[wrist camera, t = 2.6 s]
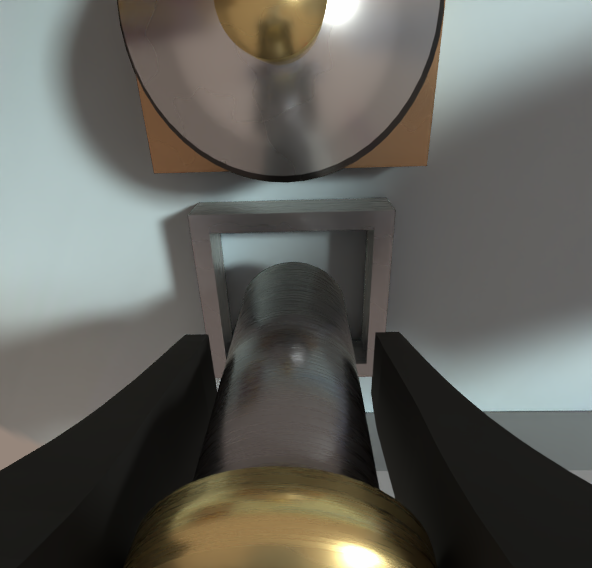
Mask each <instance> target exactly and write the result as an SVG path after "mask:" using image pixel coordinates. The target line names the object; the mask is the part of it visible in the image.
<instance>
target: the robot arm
mask: <svg viewBox="0 0 592 568" xmlns="http://www.w3.org/2000/svg"><path fill="white" fill-rule="evenodd" d="M371 395H372V402H373V409H374V416H375V423H376V429H377V433H378V437H379V440H380V444H381V448H382V452H383V455H384V459H385V463H386V466H387V470H388V474H389V478H390V481H391V485H392V489H393V492H394V496H395V499H396V500H398V501H399V502H400V503H401V504H403V505H404V506H405V507H406V508H407V509H409V510H410V511H411V512H412V513H413V514H414V516H415V517H416V518H417V519H418V520H419V521H420V523H421V524H422V526H423V527H424V529H425V531H426V532H427V534H428V537H429V539H430V542H431V545H432V548H433V552H434V556H435V559H436V563H437V566H438V568H592V484H590V483H589V482H587V481H585V480H584V479H582V478H580V477H578V476H577V475H575V474H573V473H572V472H570V471H568V470H567V469H565V468H563V467H562V466H560V465H559V464H557V463H555V462H554V461H552V460H551V459H549V458H548V457H546V456H544V455H543V454H541V453H540V452H538V451H536V450H535V449H533V448H532V447H530V446H529V445H527V444H526V443H525V442H523V441H522V440H520V439H519V438H517V437H516V436H514V435H513V434H512V433H510V432H509V431H508V430H506V429H505V428H504V427H502V426H501V425H499V424H498V423H497V422H495V421H494V420H493V419H491V418H490V417H489V416H487V415H486V414H485V413H484V412H482V411H481V410H480V409H479V408H477V407H476V406H475V405H474V404H473V403H472V402H470V401H469V400H468V399H467V398H466V397H464V396H463V395H462V394H461V393H460V392H459V391H457V390H456V389H455V388H454V387H453V386H452V385H451V384H450V383H449V382H448V381H447V380H446V379H445V378H444V377H442V376H441V375H440V374H439V373H438V372H437V371H436V370H435V369H434V368H433V367H432V366H431V365H430V364H429V363H428V362H427V361H426V360H425V359H424V358H423V357H422V356H421V355H420V353H419V352H418V351H417V350H416V349H415V348H414V347H413V346H412V345H411V344H410V343H409V342H408V341H407V340H406V339H405V338H404V337H403V336H402V335H401V334H400V333H399V332H375V345H374V360H373V374H372V389H371ZM216 396H217V387H216V381H215V374H214V368H213V361H212V355H211V348H210V342H209V335H208V334H204V335H185V336H184V337H182V338H181V339H180V340H179V341H178V342H177V343H176V344H174V345H173V346H172V347H171V348H170V349H169V350H168V351H167V352H166V353H164V354H163V355H162V356H161V357H160V358H159V359H158V360H157V361H156V362H154V363H153V364H152V365H151V366H150V367H149V368H148V369H146V370H145V371H144V372H143V373H142V374H141V375H140V376H138V377H137V378H136V379H135V380H134V381H132V382H131V383H130V384H129V385H127V386H126V387H125V388H124V389H122V390H121V391H120V392H119V393H117V394H116V395H115V396H114V397H112V398H111V399H110V400H109V401H107V402H106V403H105V404H104V405H102V406H101V407H100V408H98V409H97V410H96V411H94V412H93V413H92V414H90V415H89V416H87V417H86V418H85V419H83V420H82V421H80V422H79V423H77V424H76V425H74V426H73V427H71V428H70V429H68V430H67V431H65V432H64V433H62V434H61V435H59V436H58V437H56V438H55V439H53V440H52V441H50V442H48V443H47V444H45V445H43V446H41V447H40V448H38V449H36V450H35V451H33V452H31V453H30V454H28V455H26V456H25V457H23V458H21V459H19V460H18V461H16V462H14V463H13V464H11V465H9V466H8V467H6V468H4V469H2V470H1V471H0V568H123V566H124V563H125V561H126V558H127V555H128V553H129V550H130V547H131V545H132V542H133V539H134V537H135V534H136V532H137V530H138V527H139V525H140V523H141V521H142V520H143V519H144V517H145V516H146V514H147V513H148V512H149V511H150V510H151V509H152V508H153V507H154V506H155V505H156V504H157V503H158V502H159V501H160V500H162V499H163V498H164V497H166V496H167V495H169V494H170V493H172V492H173V491H175V490H177V489H179V488H181V487H183V486H185V485H187V484H189V483H191V482H193V478H194V475H195V471H196V468H197V464H198V460H199V457H200V453H201V450H202V446H203V443H204V439H205V435H206V432H207V428H208V425H209V421H210V417H211V414H212V410H213V407H214V403H215V399H216Z"/></svg>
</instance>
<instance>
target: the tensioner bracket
mask: <svg viewBox="0 0 592 568" xmlns="http://www.w3.org/2000/svg"><path fill="white" fill-rule="evenodd" d="M117 4H118V12H119V19H120V26H121V30H122V34H123V38H124V42H125V46H126V50H127V53H128V56H129V58H130V61H131V64H132V67H133V69H134V72H135V74H136V78H137V83H138V89H139V94H140V100H141V105H142V110H143V116H144V121H145V127H146V132H147V137H148V143H149V148H150V154H151V159H152V164H153V170H154V173H185V172H221V171H230V172H232V173H235V174H238V175H241V176H244V177H248V178H251V179H257V180H262V181H268V182H295V181H305V180H310V179H314V178H318V177H323V176H325V175H328V174H331V173H333V172H336V171H339V170H341V169H343V168H366V167H402V166H427V160H428V151H429V142H430V133H431V124H432V115H433V107H434V98H435V89H436V80H437V71H438V62H439V53H440V44H441V35H442V26H443V17H444V8H445V0H117ZM188 221H189V228H190V234H191V240H192V247H193V253H194V260H195V266H196V272H197V279H198V285H199V292H200V298H201V305H202V311H203V317H204V324H205V330H206V334H208V335H209V342H210V348H211V355H212V361H213V368H214V374H215V378H222V374H223V371H224V367H225V364H226V360H227V356H228V353H229V349H230V346H231V342H232V338H233V335H232V327H231V319H230V310H229V302H228V294H227V286H226V277H225V269H224V261H223V253H222V244H221V236H220V233H244V232H288V231H332V230H367V241H366V261H365V281H364V300H363V320H362V340H361V341H352V345H353V350H354V355H355V361H356V366H357V371H358V377H372V374H373V360H374V345H375V332H386V320H387V307H388V295H389V283H390V271H391V259H392V247H393V234H394V222H395V209H394V208H393V206H392V205H391V203H390V202H389V201H388V199H387V198H359V199H320V200H280V201H240V202H201V203H198V204H197V205H196V206H195V208H194V209H193V210H192V211H191V212H190V213H189V214H188Z"/></svg>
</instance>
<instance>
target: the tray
mask: <svg viewBox="0 0 592 568" xmlns="http://www.w3.org/2000/svg"><path fill="white" fill-rule="evenodd" d="M484 413H485V414H486V415H487V416H489V417H490V418H491V419H493V420H494V421H495V422H497V423H498V424H499V425H501V426H502V427H504V428H505V429H506V430H508V431H509V432H510V433H512V434H513V435H514V436H516V437H517V438H519V439H520V440H522V441H523V442H525V443H526V444H527V445H529V446H530V447H532V448H533V449H535V450H536V451H538V452H540V453H541V454H543V455H544V456H546V457H548V458H549V459H551V460H552V461H554V462H555V463H557V464H559V465H560V466H562V467H563V468H565V469H567V470H568V471H570V472H572V473H573V474H575V475H577V476H578V477H580V478H582V479H584V480H585V481H587V482H589V483H590V484H592V411H549V412H484ZM365 414H366V419H367V425H368V430H369V435H370V441H371V446H372V451H373V457H374V462H375V467H376V473H377V478H378V483H379V488H380V490H381V491H383V492H385V493H386V494H388V495H390V496H391V497H393V498H395V496H394V492H393V489H392V485H391V481H390V478H389V474H388V470H387V466H386V463H385V459H384V455H383V452H382V448H381V444H380V440H379V437H378V433H377V429H376V423H375V416H374V413H365Z"/></svg>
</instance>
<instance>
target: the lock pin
mask: <svg viewBox="0 0 592 568" xmlns="http://www.w3.org/2000/svg"><path fill="white" fill-rule="evenodd" d="M123 568H438V566H437V563H436V559H435V556H434V552H433V548H432V545H431V542H430V539H429V537H428V534H427V532H426V531H425V529H424V527H423V526H422V524H421V523H420V521H419V520H418V519H417V518H416V517H415V516H414V514H413V513H412V512H411V511H410V510H409V509H407V508H406V507H405V506H404V505H403V504H401V503H400V502H399V501H398V500H396V499H395V498H393V497H391V496H390V495H388V494H386V493H385V492H383V491H381V490H380V488H379V483H378V478H377V473H376V467H375V462H374V457H373V451H372V446H371V441H370V435H369V430H368V425H367V419H366V414H365V409H364V403H363V398H362V393H361V387H360V382H359V377H358V371H357V366H356V361H355V355H354V350H353V345H352V339H351V334H350V329H349V323H348V318H347V313H346V307H345V302H344V297H343V294H342V291H341V289H340V287H339V286H338V284H337V283H336V282H335V280H334V279H333V278H332V277H331V276H330V275H329V274H327V273H326V272H325V271H323V270H321V269H319V268H317V267H315V266H312V265H309V264H305V263H299V262H289V263H282V264H277V265H274V266H271V267H269V268H267V269H265V270H264V271H262V272H261V273H259V274H258V275H257V276H256V277H255V278H254V279H253V280H252V281H251V283H250V284H249V286H248V288H247V290H246V292H245V295H244V299H243V302H242V306H241V310H240V313H239V317H238V320H237V324H236V328H235V331H234V335H233V338H232V342H231V346H230V349H229V353H228V356H227V360H226V364H225V367H224V371H223V374H222V378H221V381H220V385H219V389H218V392H217V396H216V399H215V403H214V407H213V410H212V414H211V417H210V421H209V425H208V428H207V432H206V435H205V439H204V443H203V446H202V450H201V453H200V457H199V460H198V464H197V468H196V471H195V475H194V478H193V482H191V483H189V484H187V485H185V486H183V487H181V488H179V489H177V490H175V491H173V492H172V493H170V494H169V495H167V496H166V497H164V498H163V499H162V500H160V501H159V502H158V503H157V504H156V505H155V506H154V507H153V508H152V509H151V510H150V511H149V512H148V513H147V514H146V516H145V517H144V519H143V520H142V521H141V523H140V525H139V527H138V530H137V532H136V534H135V537H134V539H133V542H132V545H131V547H130V550H129V553H128V555H127V558H126V561H125V563H124V566H123Z"/></svg>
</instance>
